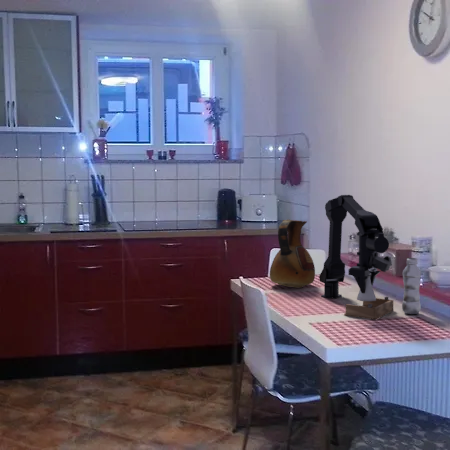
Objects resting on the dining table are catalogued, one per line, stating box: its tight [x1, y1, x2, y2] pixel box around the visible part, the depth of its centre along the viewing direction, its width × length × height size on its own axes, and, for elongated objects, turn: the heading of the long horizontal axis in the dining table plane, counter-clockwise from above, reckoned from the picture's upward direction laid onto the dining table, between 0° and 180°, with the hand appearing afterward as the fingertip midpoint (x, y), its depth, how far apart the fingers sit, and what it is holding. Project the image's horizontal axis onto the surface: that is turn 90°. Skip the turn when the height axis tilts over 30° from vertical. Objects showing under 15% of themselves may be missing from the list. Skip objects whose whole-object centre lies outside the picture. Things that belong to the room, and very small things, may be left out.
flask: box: [356, 272, 377, 302], centre depth 229 cm, size 7×7×10 cm
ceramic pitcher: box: [269, 218, 316, 289], centre depth 278 cm, size 20×20×30 cm
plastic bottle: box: [401, 257, 422, 315], centre depth 226 cm, size 6×7×20 cm
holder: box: [343, 296, 395, 321], centre depth 229 cm, size 16×12×5 cm
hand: (366, 291), depth 229 cm, fingers closed on flask, 5 cm apart
